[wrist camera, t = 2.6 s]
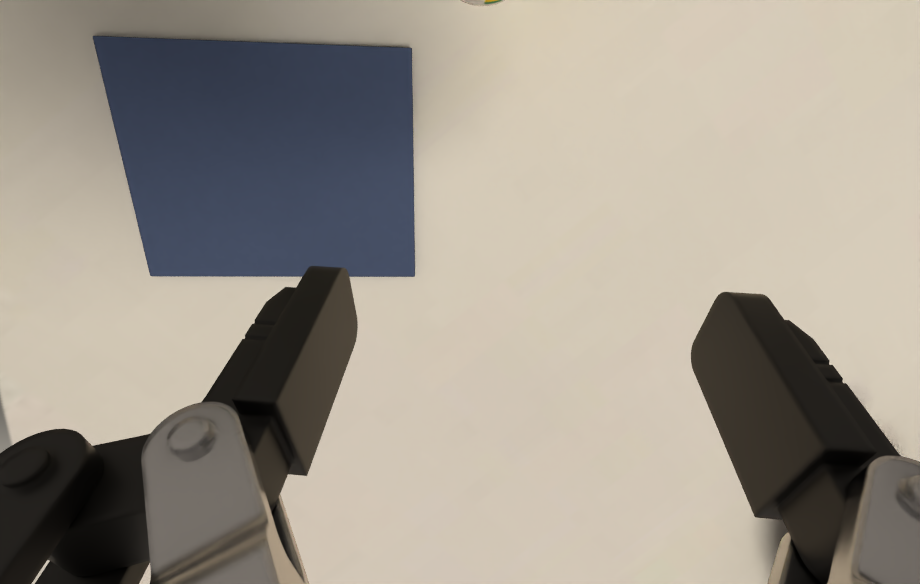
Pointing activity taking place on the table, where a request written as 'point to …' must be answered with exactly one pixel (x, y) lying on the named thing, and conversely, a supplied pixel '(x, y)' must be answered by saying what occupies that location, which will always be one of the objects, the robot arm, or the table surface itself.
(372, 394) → the table surface
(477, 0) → the supplement bottle
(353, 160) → the flat panel
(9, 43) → the table surface
